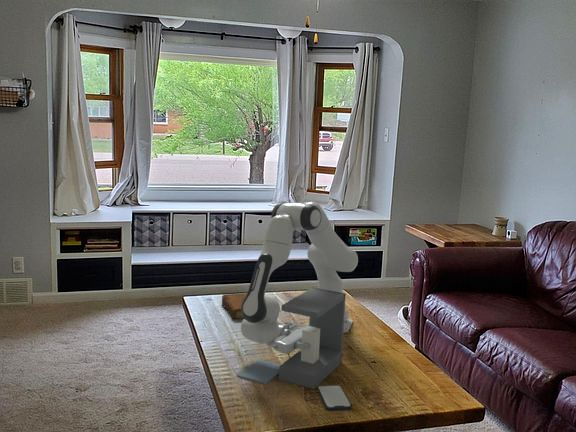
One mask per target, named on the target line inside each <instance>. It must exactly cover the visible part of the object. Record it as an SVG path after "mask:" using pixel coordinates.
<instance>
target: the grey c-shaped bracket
mask: <svg viewBox="0 0 576 432" xmlns="http://www.w3.org/2000/svg"><path fill="white" fill-rule="evenodd" d="M345 308H346V293H345V292H343V293H340V292H335V291H329V290H324V289H318V287H311V288H309V289H308V290H305V291H304V292H302V293H300V294H299V295H297V296H295V297H293V298H292V299H290V300H289V301H287V302H284V303H283V304H281V309H280V311H282V312H284V313H285V312H286V313H290V314H295V315H300V316H303V317H304V316H305V317H309V322H308V326H311V327H316V328H320V344H319V359H318V360H317V361H316V362H315V363H313V364H312V363H308V362H304V361H301V349H299V351H297V352H296V353H295V354H293V355H292V356H291V357H290V358H289V359H287V360H286V361H284V362H283V363H281V364H280V366H279V374H278V380H280V381H283V382H286V383H287V382H288V383H291V384H295V385H299V386H302V387H306V388H309V389H313V390H315V388H317V387H318V386H320V384H321V383H322V382H323V381H324V380H325V379H326V378H327V377H328V376H329V375H331V373H333V371H334V370H336V369H337V368H338V367H339V366H340V365H341V364H342V362H343V361H342V360H343V348H344V346H343V345H344V333H343V331H344V314H345Z"/></svg>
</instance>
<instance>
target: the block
mask: <svg viewBox="0 0 576 432" xmlns="http://www.w3.org/2000/svg"><path fill="white" fill-rule="evenodd" d="M306 326H307V327H306V328H304V329H303V330H302V343H309V344H310V348H308V349H300V350H301V361H304V362H308V363H312V364H313V363H315V362H316V361H317V360H318V359H319V344H320V328H316V327H311V326H309V325H306Z"/></svg>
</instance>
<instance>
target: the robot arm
mask: <svg viewBox="0 0 576 432" xmlns="http://www.w3.org/2000/svg"><path fill="white" fill-rule="evenodd" d="M270 215H271V216H270V217H271V218H270V220H269V223H268V224H267V228H266V231H265V235H264V239H263V244H262V248H261V251H260V255H259V257H258V259H257V261H256V263H255V266H254V270H253V274H252V277H251V280H250V283H249V288H248V291H247V292H246V293H247V295H246V297H245V298H244V300H243V302H242V304H241V313H242V316H243V317H244V319H242V321H241V324H240V332H241V335H242V336H243V337H244V339H247V340H249V341H251V342H254V343H258V344H266V345H268V346H269V347H270V348H273V350H275V351H277V352H279V353H281V354H286V355H287V354H291V353H293V352H294V351H295V350H297V349H299V350H301V349H308V348H310V344H309V343H302V330H303V329H304V328H306V327H307V326H308V325H303V324H298V323H294V322H293V321H287V322H282V323H281V322H280V323H278V322H277V321H278V317H279V315H280V311H281V309H280V303H279V302H278V300H277V299H276V298H274V297H272V296H265V294H266V290H267V287H268V284H269V281H270V277H271V274H272V273H273V272H274V271H275V270H276V269H278V268H279V267H281V266H283V265H284V264H285V263H287V261H288V260H289V256H290V254H291V251H292V250H291V249H292V244H293V237H294V231H296V230H297V231H305V233H306V235H307V236H308V239H309V241H310V243H311V244H310V245H309V246H308V249H307V259H308V260H309V262H310V263H311V264H312V266H313V268H314V270H315V273H316V276H317V288H318V289H324V290H329V291H335V292H340V293H344V292H343V290H344V281H343V280H342V279H341V278H342V277H340V276H339V275H338V273H337V272H340V273H341V272H342V273H351V272H353V271H354V270H355V269H356V267H357V266H358V263H359V257H358V253H357V252H356V251H355V250H353V249H352V248H350V247H349V246H348V245H347V244H346V243H345V242H344V241H343V240H342V239H341V237H339V235H338V234H337V233H336V231H335V230H334V227H333V226H332V224H331V222H330V219H329V217H328V216H327V214H326V212H325V211H324V209H323V207H322V206H321V205H320V204H319V203H317V202H316V201H308V202H305V203H303V202H279V203H277V204H276V205H274V207H273V209H272V210H271V214H270ZM353 322H354V319H351V318H349V310H348V309H347V308H346V307H345V314H344V331H343V334H344V333H349V330H351V327H352V326H353Z"/></svg>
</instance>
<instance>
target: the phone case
mask: <svg viewBox="0 0 576 432" xmlns="http://www.w3.org/2000/svg"><path fill="white" fill-rule="evenodd" d="M316 390H317V393H318V394H319V397H320V399H321V402H322V404H323V406H324V409H325V411H327V412H342V411H343V412H344V411H345V412H346V411H351V410H352V409H353V408H352V407H353V406H352V404H351V402H350V400H349V398H348V397H347V395H346V393H345V391H344V389H343V387H342V386H340V385H317V386H316Z"/></svg>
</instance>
